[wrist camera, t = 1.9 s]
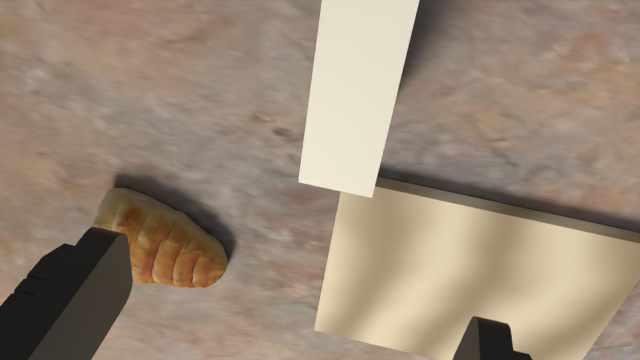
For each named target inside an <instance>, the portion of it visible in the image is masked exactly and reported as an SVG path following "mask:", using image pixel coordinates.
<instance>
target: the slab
mask: <svg viewBox="0 0 640 360" xmlns="http://www.w3.org/2000/svg"><path fill="white" fill-rule="evenodd" d="M418 4H419V0H322V5H321V13H320V20H319V28H318V36H317V43H316V51H315V59H314V66H313V74H312V82H311V89H310V97H309V105H308V112H307V120H306V128H305V135H304V143H303V151H302V158H301V166H300V174H299V181H298V182H301V183H305V184H310V185H314V186H319V187H324V188H328V189H333V190H337V191H342V192H347V193H351V194H356V195H360V196H365V197H370V198H372V196H373V192H374V187H375V183H376V179H377V175H378V171H379V167H380V162H381V158H382V154H383V150H384V146H385V142H386V137H387V133H388V129H389V125H390V121H391V117H392V112H393V108H394V104H395V100H396V96H397V92H398V87H399V83H400V79H401V75H402V71H403V67H404V62H405V58H406V54H407V50H408V46H409V42H410V37H411V33H412V29H413V25H414V21H415V16H416V12H417V8H418Z"/></svg>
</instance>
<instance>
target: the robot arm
mask: <svg viewBox="0 0 640 360" xmlns="http://www.w3.org/2000/svg"><path fill="white" fill-rule="evenodd" d="M132 282H133V276H132V267H131V259H130V250H129V242H128V237H127V235H126V234H125V233H120V232H116V231H112V230H107V229H103V228H99V227H91V228H90V229H88V230H87V231H86V233H85V234H84V235H83V236H82V238H81V239H80V240H79V241H78V243H77V244H76V245H75V246H73V245H69V244H65V243H64V244H63V245H61V246H59V247H58V248H56V249H55V250H53V251H51V252H50V253H48V254H47V255H45V256H43V257H42V258H41V259H40V261H39V262H38V263H37V264H36V265H35V266H34V268H33V269H32V270H31V271H30V272H29V273H28V275H27V278H26V279H23V280H22V282H21V283H20V284H19V285H18V286H17V287H16V289H15V291H14V293H13V294H10V296H9V297H8V298H7V299H6V300H5V301H4V303H3V304H2V305H1V306H0V360H91V359H92V357H93V356H94V354H95V353H96V351H97V349H98V348H99V346H100V344H101V343H102V341H103V340H104V338H105V336H106V335H107V333H108V331H109V330H110V328H111V327H112V325H113V323H114V322H115V320H116V319H117V317H118V315H119V314H120V312H121V310H122V309H123V307H124V306H125V304H126V302H127V300H128V298H129V295H130V292H131V288H132ZM453 360H532V358H531V356H530V354H527V353H522V352H518V351H514V350H513V343H512V335H511V329H510V326H509V324H507V323H503V322H499V321H495V320H490V319H486V318H482V317H477V316H473V317H472V318H471V320H470V322H469V324H468V326H467V328H466V331H465V333H464V335H463V337H462V339H461V341H460V343H459V346H458V348H457V350H456V352H455V354H454V357H453Z"/></svg>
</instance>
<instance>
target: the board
mask: <svg viewBox="0 0 640 360" xmlns="http://www.w3.org/2000/svg"><path fill="white" fill-rule="evenodd" d="M639 279H640V233H638V232H634V231H629V230H624V229H620V228H615V227H610V226H606V225H601V224H596V223H592V222H587V221H582V220H578V219H573V218H568V217H564V216H559V215H554V214H550V213H545V212H540V211H536V210H531V209H526V208H522V207H517V206H512V205H508V204H503V203H498V202H494V201H489V200H484V199H480V198H475V197H470V196H466V195H461V194H456V193H452V192H447V191H442V190H438V189H433V188H428V187H424V186H419V185H414V184H410V183H405V182H400V181H396V180H391V179H386V178H382V177H377V179H376V183H375V187H374V192H373V196H372V198H370V197H365V196H360V195H356V194H351V193H347V192H342V191H341V193H340V198H339V204H338V209H337V214H336V219H335V224H334V230H333V235H332V240H331V245H330V250H329V255H328V261H327V266H326V271H325V276H324V281H323V287H322V292H321V297H320V302H319V307H318V312H317V318H316V323H315V328H314V330H315V331H320V332H324V333H328V334H332V335H336V336H341V337H345V338H349V339H353V340H358V341H362V342H366V343H370V344H374V345H379V346H383V347H387V348H391V349H396V350H400V351H404V352H408V353H412V354H417V355H421V356H425V357H429V358H433V359H438V360H453V357H454V354H455V352H456V350H457V348H458V346H459V343H460V341H461V339H462V337H463V335H464V333H465V331H466V328H467V326H468V324H469V322H470V320H471V318H472V317H473V316H477V317H482V318H486V319H490V320H495V321H499V322H503V323H507V324H509V326H510V329H511V335H512V343H513V350H514V351H518V352H522V353H527V354H530V356H531V358H532V360H582V359H583V358H584V356H585V355H586V354H587V352H588V351H589V349H590V348H591V347H592V345H593V344H594V342H595V341H596V340H597V338H598V337H599V335H600V334H601V333H602V331H603V330H604V328H605V327H606V326H607V324H608V323H609V321H610V320H611V319H612V317H613V316H614V314H615V313H616V312H617V310H618V309H619V307H620V306H621V304H622V303H623V302H624V300H625V299H626V297H627V296H628V295H629V293H630V292H631V290H632V289H633V288H634V286H635V285H636V283H637V282H638V281H639Z"/></svg>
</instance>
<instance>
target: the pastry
mask: <svg viewBox="0 0 640 360" xmlns="http://www.w3.org/2000/svg"><path fill="white" fill-rule="evenodd" d="M92 227H99V228H103V229H107V230H112V231H116V232H120V233H125V234H126V235H127V237H128V242H129V250H130V259H131V267H132V276H133V280H134V281H136V282H139V283H141V284H146V283H157V284H171V285H173V286H175V287H189V288H194V287H202V288H205V287H208V286H210V285H212V284H214V283H215V282H216V281H217V280H218V279H220V278H221V277H222V275H223V274H224V272H225V271H226V268H227V265H228V261H227V257H226V253H225V250H224V248H223V246H222V244H221V243H220V242H219V241H218V240H217V239H216V238H215V237H214V236H212V235H210V234H208V233H207V232H205V231H204V230H203V229H202V228H201V227H200V226H199V225H197V224H196V223H195V222H193V221H192V220H191V218H190V217H189V216H188V215H186V214H185V213H184V212H182V211H177V210H174V209H173V208H171V207H169V206H167V205H165V204H163V203H161V202H159V201H157V200H155V199H153V198H152V197H149V196H146V195H144V194H141V193H139V192H137V191H134V190H130V189H127V188H113V189H111V190H109V191H108V192H107V193H106V195H105V197H104V198H103V200H102V202H101V204H100V206H99V208H98V211H97V216H96V218H95V221H94V223H93V225H92Z"/></svg>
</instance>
